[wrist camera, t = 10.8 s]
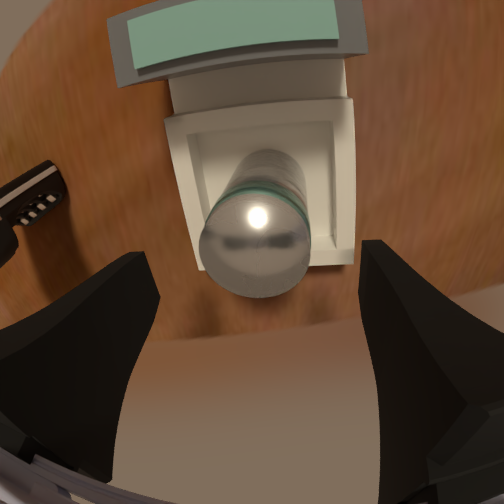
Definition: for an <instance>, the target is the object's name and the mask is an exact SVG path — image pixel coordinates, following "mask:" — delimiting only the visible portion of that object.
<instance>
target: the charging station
mask: <svg viewBox="0 0 504 504" xmlns="http://www.w3.org/2000/svg"><path fill="white" fill-rule="evenodd" d="M107 26H108V33H109V40H110V46H111V53H112V59H113V65H114V70H115V76H116V81H117V86H118V88H121V87H126V86H131V85H137V84H142V83H148V82H154V81H161V80H168V81H169V87H170V92H171V98H172V103H173V109H174V115H172V116H169V117H167V118H165V119H164V124H165V129H166V133H167V138H168V143H169V148H170V152H171V157H172V162H173V166H174V171H175V175H176V179H177V184H178V188H179V192H180V197H181V201H182V205H183V209H184V213H185V217H186V221H187V225H188V229H189V233H190V237H191V241H192V245H193V249H194V253H195V257H196V261H197V264H198V268H199V270H205V268H204V266H203V264H202V262H201V259H200V255H199V239H200V235H201V232H202V230H203V228H204V225H205V222H206V220H207V217H208V216H209V214H210V212H211V210H212V208H213V206H214V205H215V203H216V201H217V200H218V198H219V197H220V196H221V194H222V193H223V191H224V189H225V187H226V185H227V184H228V182H229V180H230V178H231V176H232V175H233V173H234V171H235V169H236V167H237V166H238V164H239V163H240V162H241V160H242V159H244V158H245V157H246V156H247V155H249V154H251V153H253V152H255V151H258V150H263V149H273V150H278V151H281V152H284V153H286V154H288V155H289V156H291V157H292V158H294V159H295V160H296V161H297V162H298V164H299V165H300V166H301V168H302V170H303V172H304V175H305V179H306V190H307V204H308V216H309V220H310V230H311V250H310V263H309V266H320V265H341V264H354V244H355V212H356V160H355V129H354V110H353V99H352V98H350V97H348V96H347V89H346V78H345V67H344V59H345V58H349V57H354V56H359V55H365V54H369V52H368V42H367V34H366V26H365V19H364V12H363V6H362V0H159V1H156V2H152V3H149V4H146V5H143V6H140V7H137V8H135V9H132V10H129V11H126V12H124V13H121V14H118V15H116V16H113V17H111V18H108V19H107Z"/></svg>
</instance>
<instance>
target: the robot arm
mask: <svg viewBox="0 0 504 504" xmlns="http://www.w3.org/2000/svg"><path fill="white" fill-rule="evenodd" d="M358 295H359V303H360V310H361V318H362V323H363V327H364V331H365V335H366V339H367V343H368V347H369V351H370V356H371V360H372V365H373V369H374V374H375V379H376V385H377V393H378V405H379V420H380V482H379V498H378V504H504V333H502V332H500V331H498V330H496V329H494V328H493V327H491V326H490V325H488V324H486V323H485V322H483V321H481V320H480V319H478V318H476V317H475V316H473V315H472V314H470V313H468V312H467V311H466V310H464V309H463V308H461V307H460V306H459V305H457V304H456V303H454V302H453V301H451V300H450V299H449V298H447V297H446V296H445V295H443V294H442V293H441V292H440V291H438V290H437V289H436V288H435V287H434V286H432V285H431V284H430V283H429V282H427V281H426V280H425V279H424V278H423V277H422V276H420V275H419V274H418V273H417V272H416V271H415V270H414V269H413V268H411V267H410V266H409V265H408V264H407V263H406V262H405V261H404V260H403V259H402V258H401V257H400V256H398V255H397V254H396V253H395V252H394V251H393V250H392V249H391V248H390V247H389V246H388V245H387V244H385V243H384V242H383V241H382V240H362V248H361V264H360V277H359V288H358ZM159 301H160V294H159V292H158V289H157V286H156V284H155V281H154V278H153V276H152V273H151V270H150V267H149V264H148V262H147V259H146V256H145V253H144V251H141V252H129V253H127V254H125V255H123V256H121V257H120V258H118V259H116V260H115V261H113V262H112V263H110V264H109V265H107V266H106V267H104V268H103V269H101V270H100V271H99V272H97V273H96V274H94V275H93V276H91V277H90V278H89V279H87V280H86V281H84V282H83V283H82V284H80V285H79V286H77V287H76V288H74V289H73V290H71V291H70V292H68V293H67V294H65V295H64V296H62V297H61V298H59V299H58V300H56V301H55V302H53V303H52V304H50V305H48V306H47V307H45V308H43V309H41V310H40V311H38V312H36V313H34V314H33V315H31V316H29V317H26V318H24V319H23V320H21V321H19V322H17V323H15V324H13V325H10V326H8V327H6V328H3V329H1V330H0V504H79V503H77V502H75V501H73V500H72V499H71V495H70V494H69V493H72V494H74V495H76V496H78V497H81V498H83V499H85V500H88V501H90V502H92V503H95V504H176V503H171V502H167V501H163V500H158V499H155V498H151V497H147V496H143V495H139V494H136V493H133V492H129V491H126V490H123V489H119V488H116V487H114V486H110V485H108V484H106V483H108V482H110V481H111V480H112V470H113V456H114V446H115V439H116V433H117V426H118V421H119V416H120V411H121V407H122V402H123V399H124V395H125V392H126V388H127V385H128V381H129V378H130V376H131V373H132V370H133V368H134V366H135V363H136V361H137V359H138V356H139V354H140V352H141V349H142V347H143V345H144V343H145V340H146V338H147V336H148V334H149V331H150V329H151V327H152V324H153V322H154V319H155V315H156V312H157V309H158V305H159Z"/></svg>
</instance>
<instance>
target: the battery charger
mask: <svg viewBox="0 0 504 504" xmlns="http://www.w3.org/2000/svg"><path fill="white" fill-rule="evenodd" d="M64 197H65V188H64V184H63V182H62V179H61V177H60V176H59V174H58V172H57V168H56V166H55V165H53V163H52V162H51V161H50V160H46V161H44V162H43V163H41V164H39V165H37V166H36V167H34V168H32V169H31V170H29V171H27V172H26V173H24V174H22V175H21V176H19V177H17V178H16V179H14V180H12V181H11V182H9V183H7V184H6V185H4V186H3V187H1V188H0V268H1V267H2V266H3V265H4V264H5V263H6V262H7V261H8V260H10V259H11V258H12V256H13V255H14V254H15V251H16V249H17V248H18V246H19V245H18V239H17V236H16V234H15V232H14V230H13V229H12V227H14V226H15V225H26V226H31V225H33V224H34V223H35V222H36V221H38V220H39V219H40V218H41V217H42V216H44V215H45V214H46V213H47V212H49V211H50V210H51V209H52V208H54V207H55V206H56V205H57V204H59V203H60V202H61V201H62V200H63V198H64Z"/></svg>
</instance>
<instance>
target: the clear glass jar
mask: <svg viewBox="0 0 504 504" xmlns="http://www.w3.org/2000/svg"><path fill="white" fill-rule="evenodd" d="M310 250H311V230H310V220H309V216H308V204H307V190H306V179H305V175H304V172H303V170H302V168H301V166H300V165H299V164H298V162H297V161H296V160H295V159H294V158H292V157H291V156H289V155H288V154H286V153H284V152H281V151H278V150H273V149H263V150H258V151H255V152H253V153H251V154H249V155H247V156H246V157H245V158H244V159H242V160H241V162H240V163H239V164H238V166H237V167H236V169H235V171H234V173H233V175H232V176H231V178H230V180H229V182H228V184H227V185H226V187H225V189H224V191H223V193H222V194H221V196H220V197H219V198H218V200H217V201H216V203H215V205H214V206H213V208H212V210H211V212H210V214H209V216H208V217H207V220H206V222H205V225H204V228H203V230H202V232H201V235H200V239H199V255H200V259H201V262H202V264H203V266H204V268H205V270H206V272H207V273H208V274H209V276H210V277H211V278H212V279H213V280H214V281H215V282H216V283H217V284H219V285H220V286H222V287H223V288H224V289H226V290H228V291H230V292H232V293H235V294H238V295H241V296H245V297H251V298H266V297H272V296H276V295H279V294H282V293H284V292H286V291H288V290H290V289H291V288H293V287H294V286H295V285H297V284H298V283H299V282H300V280H301V279H302V278H303V276H304V275H305V273H306V271H307V269H308V266H309V263H310Z"/></svg>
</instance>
